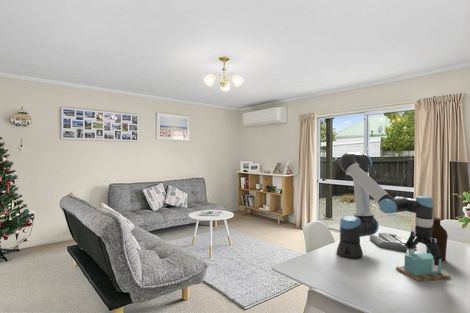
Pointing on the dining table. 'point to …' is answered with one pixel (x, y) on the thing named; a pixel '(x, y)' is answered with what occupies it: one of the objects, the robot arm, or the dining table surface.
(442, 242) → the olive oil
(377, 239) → the emblem
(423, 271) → the teal rectangular block
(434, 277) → the seat
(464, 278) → the dining table surface
